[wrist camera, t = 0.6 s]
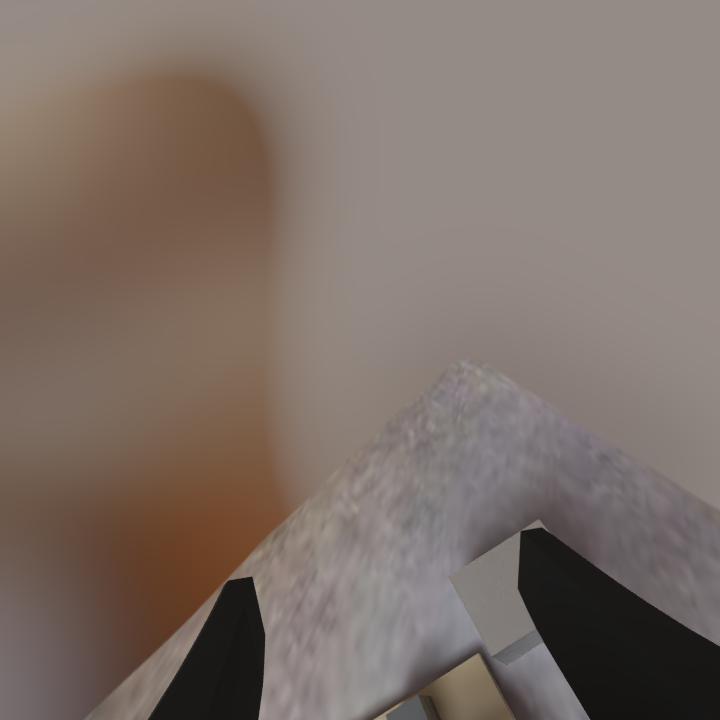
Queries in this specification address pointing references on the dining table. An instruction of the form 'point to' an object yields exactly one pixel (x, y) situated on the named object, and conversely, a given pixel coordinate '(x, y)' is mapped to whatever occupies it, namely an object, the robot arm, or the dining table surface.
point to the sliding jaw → (415, 710)
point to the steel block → (498, 600)
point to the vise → (466, 694)
